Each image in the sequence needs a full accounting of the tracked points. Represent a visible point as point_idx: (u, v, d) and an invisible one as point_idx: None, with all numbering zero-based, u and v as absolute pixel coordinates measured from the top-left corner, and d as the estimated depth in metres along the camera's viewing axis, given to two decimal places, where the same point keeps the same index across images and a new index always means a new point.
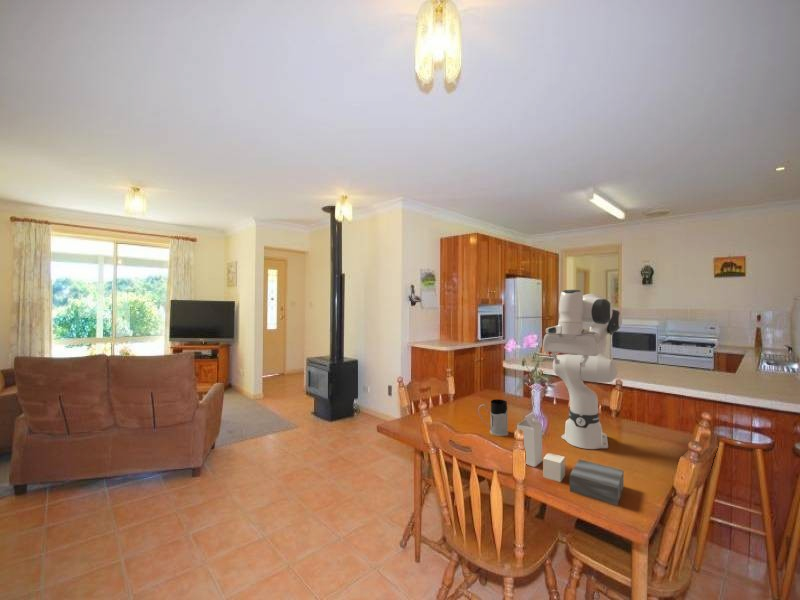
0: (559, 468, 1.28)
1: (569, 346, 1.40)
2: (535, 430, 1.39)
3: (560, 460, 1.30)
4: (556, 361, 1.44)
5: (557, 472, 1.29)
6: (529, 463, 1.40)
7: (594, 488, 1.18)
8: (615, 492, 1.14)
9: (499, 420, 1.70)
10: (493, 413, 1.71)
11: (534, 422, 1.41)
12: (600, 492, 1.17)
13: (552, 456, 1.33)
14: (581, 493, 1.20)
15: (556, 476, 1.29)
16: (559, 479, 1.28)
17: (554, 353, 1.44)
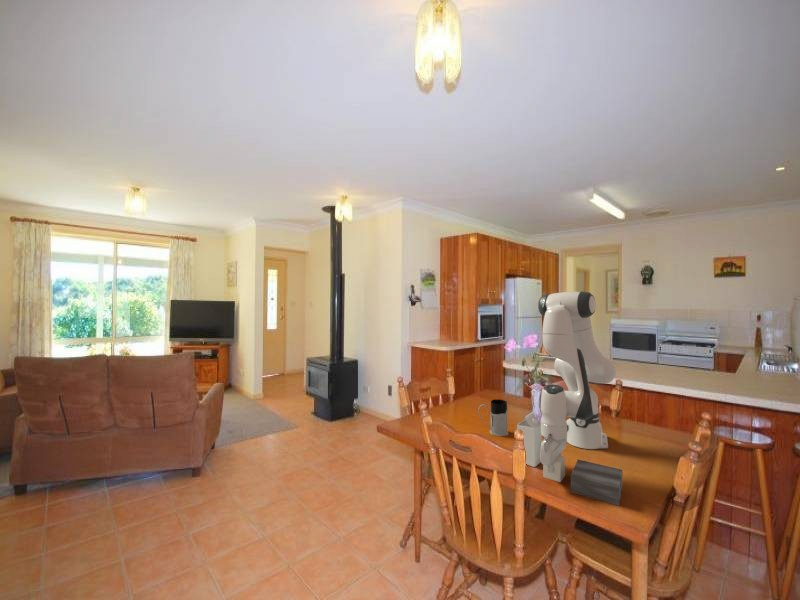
0: (559, 468, 1.28)
1: None
2: (535, 430, 1.39)
3: (560, 460, 1.30)
4: None
5: (557, 472, 1.29)
6: (529, 463, 1.40)
7: (595, 489, 1.17)
8: (617, 492, 1.14)
9: (499, 420, 1.70)
10: (493, 413, 1.71)
11: (534, 422, 1.41)
12: (601, 492, 1.16)
13: None
14: (582, 494, 1.20)
15: (556, 476, 1.29)
16: (559, 479, 1.28)
17: None
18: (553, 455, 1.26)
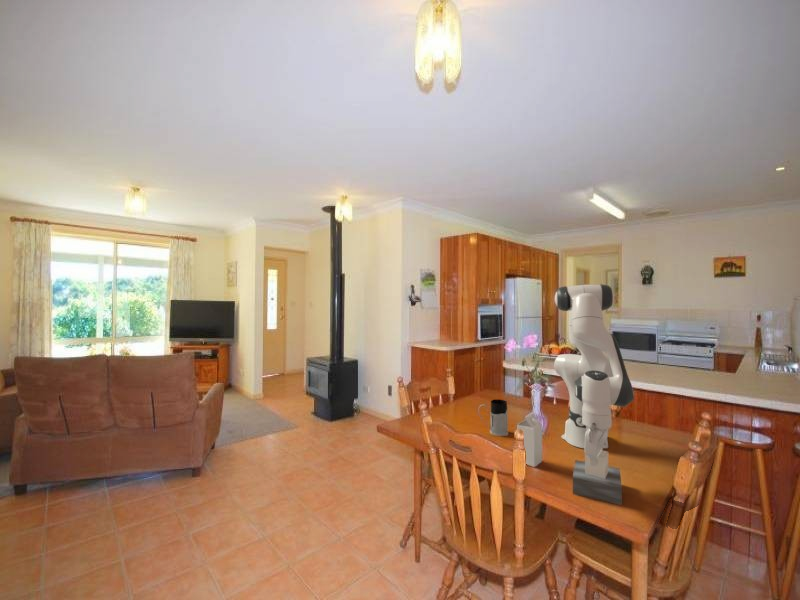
0: (603, 464, 1.19)
1: None
2: (535, 430, 1.39)
3: (604, 455, 1.21)
4: None
5: (602, 468, 1.20)
6: (529, 463, 1.40)
7: (598, 489, 1.17)
8: (619, 492, 1.14)
9: (499, 420, 1.70)
10: (493, 413, 1.71)
11: (534, 422, 1.41)
12: (604, 492, 1.16)
13: None
14: (585, 495, 1.19)
15: (600, 472, 1.20)
16: (603, 475, 1.19)
17: None
18: (598, 446, 1.17)
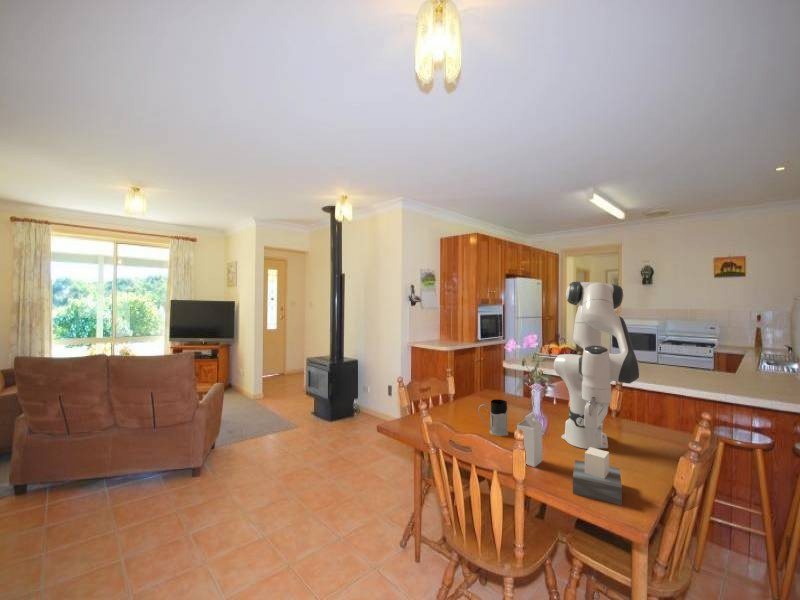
0: (603, 463, 1.19)
1: None
2: (535, 430, 1.39)
3: (604, 455, 1.21)
4: None
5: (601, 467, 1.20)
6: (529, 463, 1.40)
7: (598, 489, 1.17)
8: (619, 492, 1.14)
9: (499, 420, 1.70)
10: (493, 413, 1.71)
11: (534, 422, 1.41)
12: (604, 492, 1.16)
13: (595, 451, 1.24)
14: (585, 495, 1.19)
15: (599, 472, 1.20)
16: (603, 475, 1.19)
17: None
18: (598, 419, 1.17)
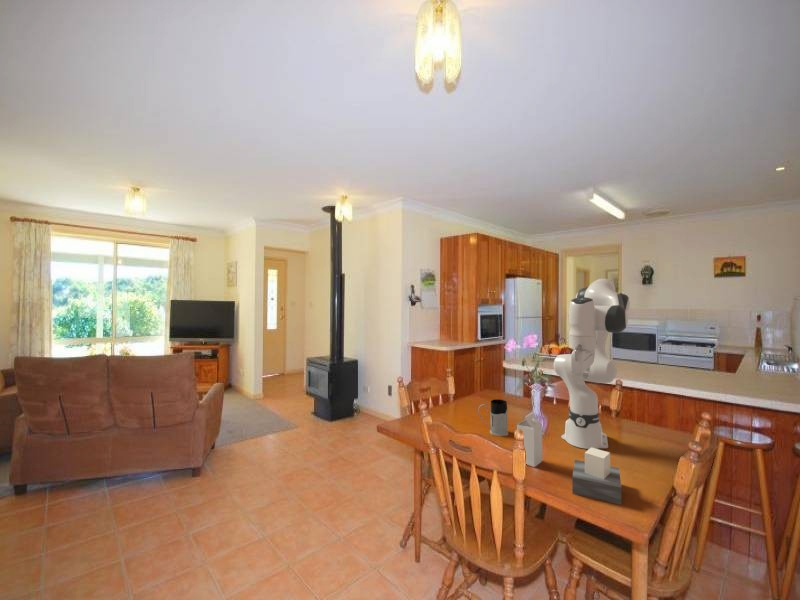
0: (602, 464, 1.19)
1: None
2: (535, 430, 1.39)
3: (604, 455, 1.21)
4: None
5: (601, 468, 1.20)
6: (529, 463, 1.40)
7: (598, 489, 1.17)
8: (619, 491, 1.14)
9: (499, 420, 1.70)
10: (493, 413, 1.71)
11: (534, 422, 1.41)
12: (603, 492, 1.16)
13: (595, 451, 1.24)
14: (584, 495, 1.19)
15: (599, 472, 1.20)
16: (602, 476, 1.19)
17: None
18: (584, 364, 1.23)
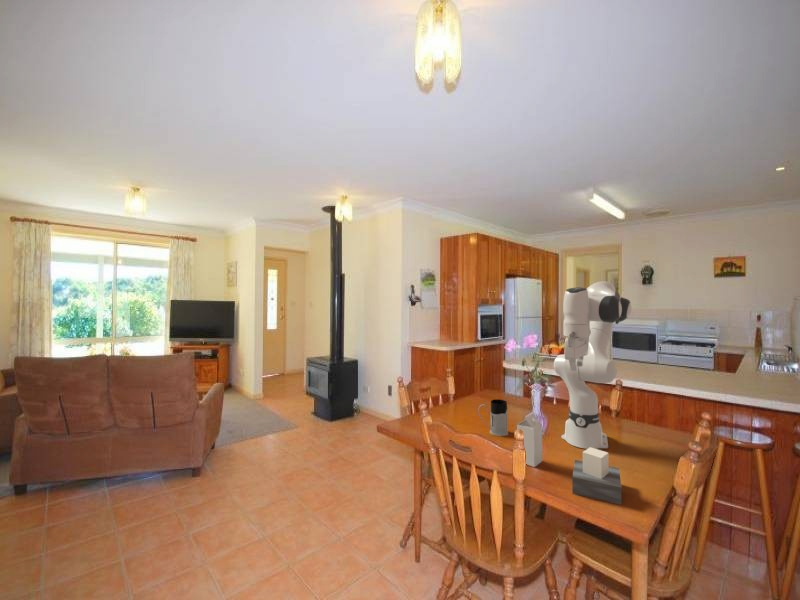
0: (600, 463, 1.19)
1: None
2: (535, 430, 1.39)
3: (602, 455, 1.21)
4: None
5: (598, 467, 1.20)
6: (529, 463, 1.40)
7: (598, 489, 1.17)
8: (619, 491, 1.14)
9: (499, 420, 1.70)
10: (493, 413, 1.71)
11: (534, 422, 1.41)
12: (603, 492, 1.16)
13: (594, 451, 1.24)
14: (584, 495, 1.19)
15: (597, 472, 1.20)
16: (600, 475, 1.19)
17: None
18: (577, 351, 1.27)
